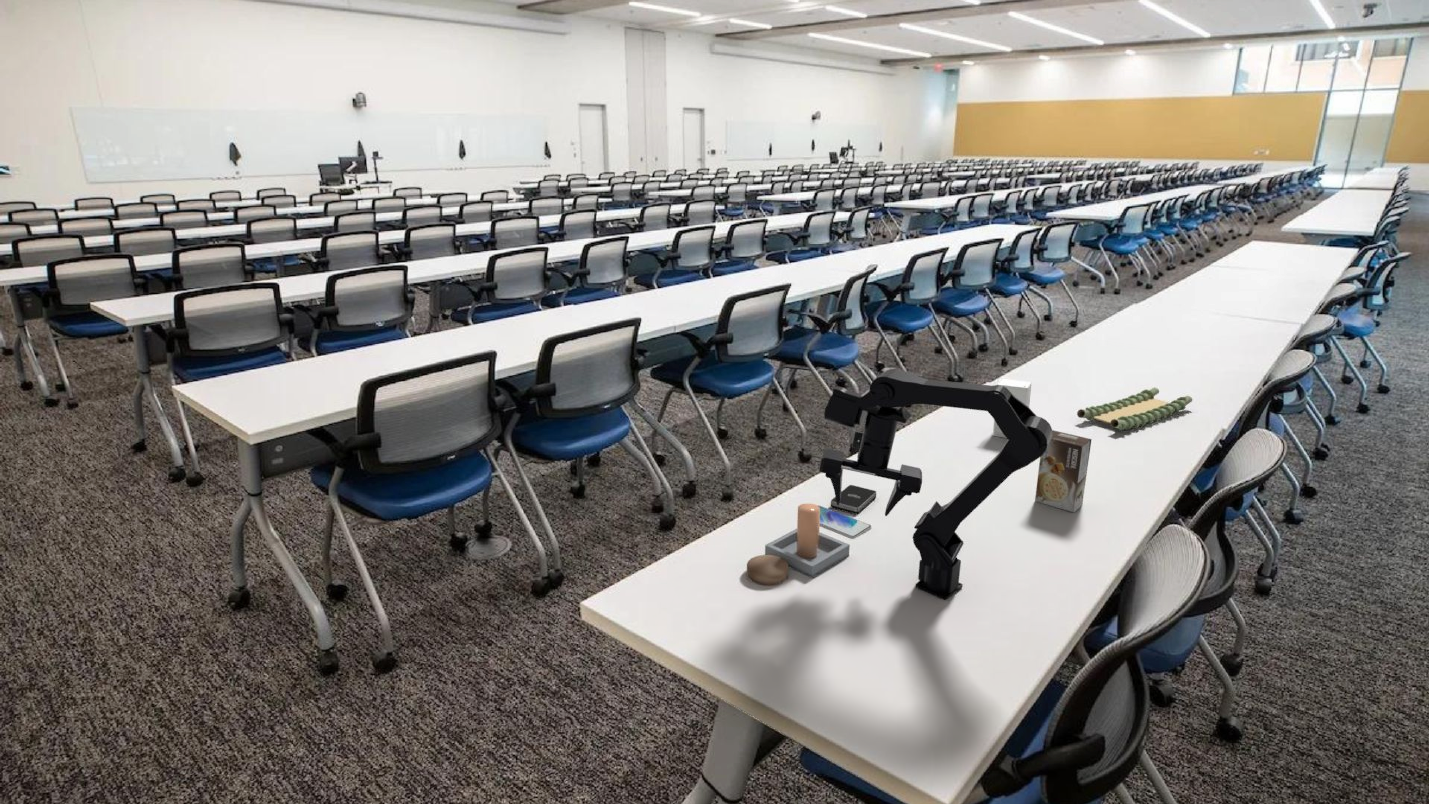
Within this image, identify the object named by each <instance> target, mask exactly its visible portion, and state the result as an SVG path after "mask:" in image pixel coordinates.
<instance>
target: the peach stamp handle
mask: <svg viewBox="0 0 1429 804" xmlns="http://www.w3.org/2000/svg"><path fill="white" fill-rule="evenodd" d="M819 506H820V505H819ZM819 506H817V504H814V503H802V504H800V505H798V506H797V520H796V521H797V522H796V523H797V525H796V527H797V528H796V529H797V555H798V556H799V557H801V558H805V559H812V558H815V557H817V556H818V552H819V532H820V527H821V526H820V507H819Z"/></svg>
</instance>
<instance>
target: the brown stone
mask: <svg viewBox="0 0 1429 804" xmlns="http://www.w3.org/2000/svg"><path fill="white" fill-rule="evenodd" d="M746 577H747V579H748V580H750V581H751V582H752V583H754V584H758V585H761V586H776V585H780V584H782V583H784V582H785V581H786V580H788V577H789V567H788V563H787V562H786V561H785V560H784V559H782V558H780V557H778V556H773V555H765V554H762V555H761V554H760V555H756V556H753V557H751V558H750V559H749V560H748V561H747V562H746Z"/></svg>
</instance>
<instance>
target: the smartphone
mask: <svg viewBox="0 0 1429 804" xmlns="http://www.w3.org/2000/svg"><path fill="white" fill-rule="evenodd" d="M816 505H817V504H816ZM817 506H819V507H820V527H823V528H824V527H825V529H826V530H829V531H832V530H833V532H834V533H837V534H840V533H841V534H840V535H842V536H845V537H847V536H848V537H847V538H850V539H857V538H859V537H860V536H861V535H863V534H865V533H866V532H868V531H870V530H871V529H872V525H871V524H869V523H867V522H864V521H861V520H858V519H856V518H853V517H851V516H848V515H845V514H843V513H840V512H837V511H834V510H833V509H829V508H827V507H825V506H821V505H817ZM856 537H857V538H856Z"/></svg>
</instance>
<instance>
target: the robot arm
mask: <svg viewBox="0 0 1429 804" xmlns="http://www.w3.org/2000/svg"><path fill="white" fill-rule="evenodd" d="M914 405H930V406H937V407H948V408H954V409H955V408H958V409H967V410H972V411H973V410H975V411H982V412H983V411H984V412H985V411H986V412H987V413H988V414H989V415H990V416H991V417H992V419H993V421H994V420H995V422H996V423H997V425H998V426H999V428H1000V430H1001V431H1002V433H1003V434H1004V435H1005V436H1006V437H1007V438H1006V439H1007V440H1006V442H1005V443H1004V444H1003V446H1002V448H1001V450H1000V451H999V452H998V454H996V455H995V456H994V457H993V459H992V460H990V461H989V463H987V464H986V465H985V467H984V468H983V469H981V470H980V472H979V473H977V474H976V475H975V476H974V477H973V479H972V480H971V481H969V482H968V483H967V484H966V485H965V486H964V487H963V488H962V489H961V490H960V491H959V493H957V495H956V496H954V497H953V499H952V500H950V501H949V502H948V503H946V504H944V505H941V504H940V503H939V501H937V500H936V501H935V502H934V504H933V505H932V507H931V508H930V509H929V510H927V511H926V512H925V511H924V512H923V514H922V515H921V517H920V518H919V520H918V521H917V522H916V524H915V525H914V527H913V528H914V529H915V531H914V533H913V535H912V540H913V541H912V542H913V545H914V547H915V548H916V549H917V550H918V551H919V556H920V559H921V560H919V565H918V577H917V578H918V580H919V581H917V582H916V583H915V585H914V586H915V588H917V589H919V590H922V591H924V592H926V593H929V594H932V595H933V596H935V597H938V598H939V599H943V600H947V599H949V598H950V597H951V596H952V595H954V594H955V593H957V592H958V591H959V590H961V589H962V588H963V583H962V582H960V574H961V566H962V565H961V564H962V560H961V559H958V555H959V553H960V551H961V549H962V547H963V546H964V541H963V540H962V539H961V538H960V536H959V535H958V534H957V532H956V531H957V529H958V527H959V526H960V524H961V523H962V522H963V521H964V520H965V519H966V518H967V517H968V516H970V515H971V514H972V512H974V510H975V509H977V508H978V507H979V506H980V505H981V504H982V503H983V502H984V501H985V500H986V499H987V498H988V497H989V496H990V495H992V493H993V492H994V491H996V490H997V488H999V486H1000V485H1002V484H1003V483H1004V482H1005V481H1006V479H1009V477H1010V476H1011V475H1012V474H1013V473H1016V472H1017V471H1018V470H1021V469H1023V468H1026V467H1027V466H1029V465H1030V464H1032V463H1033V462H1035V461H1037V460H1038V459H1040V457H1041V456H1042V455H1043V454H1044V453H1045V451H1046V449H1047V447H1048V445H1049V443H1050V440H1051V438H1052V430H1053V428H1052V426H1051V423H1049V421H1047V420H1046V419H1045V418H1043V417H1041V416H1037V415H1036V413H1035V412H1034V411H1033V410H1032V409H1031V408H1030V406H1029V407H1028V406H1026V405H1025V404H1024V403H1022V402H1021V401H1020V400H1018V399H1017V398H1016V397H1014V396H1013V394H1012V393H1011V392H1010V391H1009V390H1008V389H1007V388H1006V387H1004V386H1001V385H997V384H995V385H988V384H987V385H986V384H979V383H978V384H977V383H966V382H956V381H947V380H946V381H945V380H937V379H936V380H935V379H927V378H924V377H921V376H918V375H916V374H915V373H912V372H909V371H905V370H902V369H897V368H889V369H887V370H885V371H883V372H882V373H881V374H879V376H877V377H876V378H875V379H874V380H872V382H871V384H870V385H869V389H867V390H866V391H865V392H863V393H862V394H861V393H859V392H855V391H851V390H848V389H846V387H843V386H839V385H838V386H836V387H835V388H833V389H832V394H831V396H830V398H829V400H828V402H827V405H826V406H825V408H824V415H823V417H824V421H827V422H830V423H834V424H836V425H840V426H843V427H846V428H849V429H852V430H855V429H856V428H857V426H860V427H861V426H863V424H864V427H863V432H861V431H854V435H853V440H852V443H851V447H852V449H853V448H854V449H858V452H857V460H853V459H849V458H848V459H847V458H844V457H845V451H841V450H837V449H832V448H825V449H824V450H823V452H822V456H821V460H820V464H819V472H820V473H822V474H825V478H828V479H829V480H830V483H831V484H832V487H833V490H834V491H833V492H834V497H836V502H837V505H839V503H840V498H841V491H842V485H843V474H844V473H843V472H844V470H848V471H851V472H852V471H853V472H855V473H860V474H866V475H870V476H874V477H879V478H884V479H888V480H893V481H895V482H894V485H893V489H892V491H891V494H890V497H889V499H888V501H887V504H886V507H885V511H884V516H885V517H888V515H890V513H891V511H892V510H893V509H894V507H896V505H897V504H899V502H900V501H902V499H903V498H904V497H905V496H909V497H910V496H912V494H913V493H914V494H919V493H920V492H921V490H922V489H921V488H922V483H923V472H922V469H921V468H920V467H917V466H916V467H915V466H911V465H907V464H901V465H900V468H899V469H894V468H890V467H889V462H890V459H891V453H892V451H893V445H894V442H895V437H896V433H897V428H898V423H901V424H906V423H907V422H908V421H910V419H911V418H912V414H911V413H910V412H909V411H908V410H907V408H906V407H908V406H914Z"/></svg>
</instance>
